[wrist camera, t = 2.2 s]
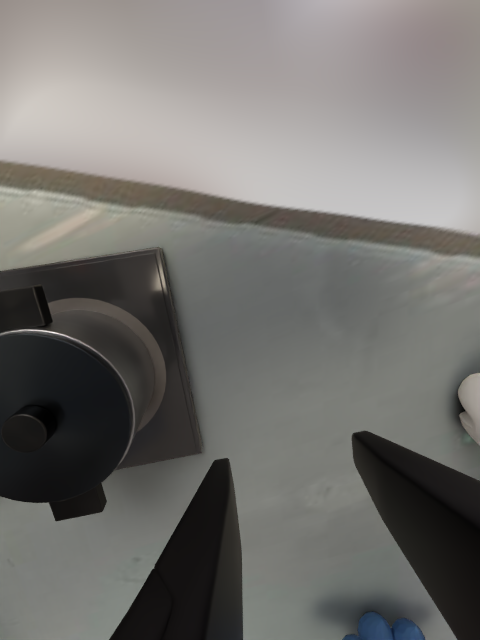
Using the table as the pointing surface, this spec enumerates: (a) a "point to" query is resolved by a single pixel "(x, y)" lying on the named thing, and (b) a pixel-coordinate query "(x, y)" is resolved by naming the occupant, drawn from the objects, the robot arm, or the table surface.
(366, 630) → the grapes
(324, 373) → the table surface
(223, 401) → the table surface
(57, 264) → the hob
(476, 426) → the water bottle
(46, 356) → the pot
